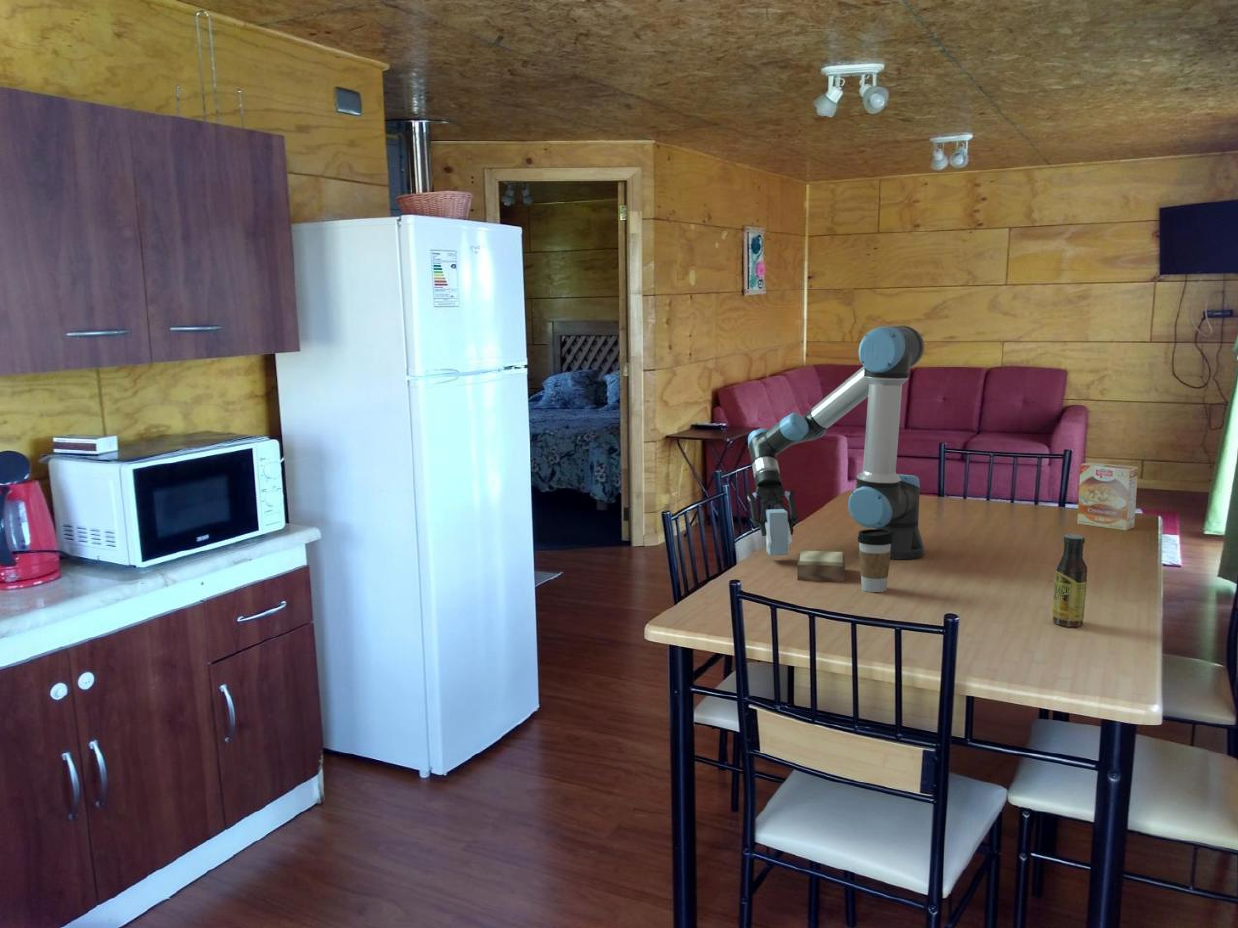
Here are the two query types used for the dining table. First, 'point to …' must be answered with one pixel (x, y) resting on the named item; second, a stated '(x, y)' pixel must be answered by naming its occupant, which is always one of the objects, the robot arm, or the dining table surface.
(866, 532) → the coffee cup
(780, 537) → the block
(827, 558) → the pedestal
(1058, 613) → the sauce bottle
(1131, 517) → the coffeecake box
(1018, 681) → the dining table surface
